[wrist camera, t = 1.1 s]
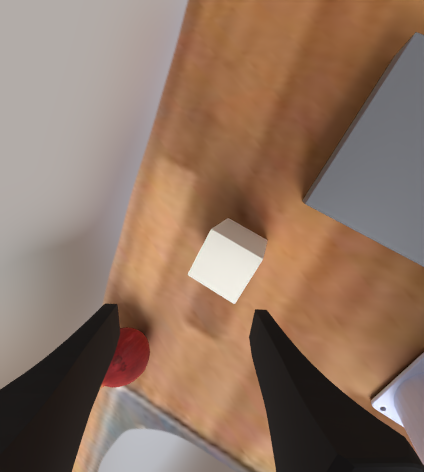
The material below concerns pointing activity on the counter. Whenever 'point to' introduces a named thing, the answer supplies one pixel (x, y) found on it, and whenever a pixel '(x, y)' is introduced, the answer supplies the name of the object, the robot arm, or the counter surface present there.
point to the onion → (127, 358)
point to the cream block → (228, 259)
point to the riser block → (382, 161)
